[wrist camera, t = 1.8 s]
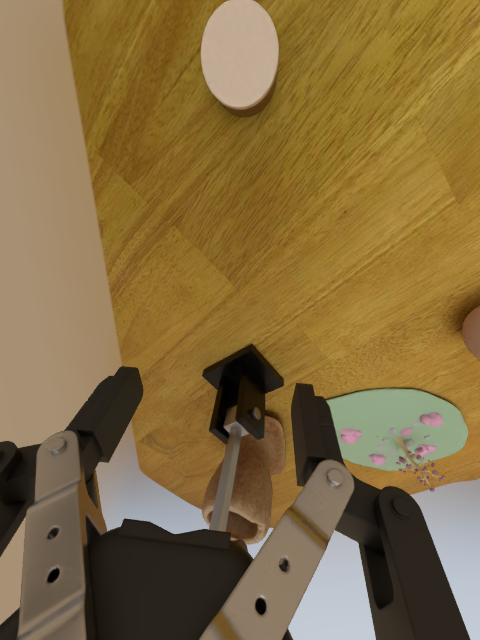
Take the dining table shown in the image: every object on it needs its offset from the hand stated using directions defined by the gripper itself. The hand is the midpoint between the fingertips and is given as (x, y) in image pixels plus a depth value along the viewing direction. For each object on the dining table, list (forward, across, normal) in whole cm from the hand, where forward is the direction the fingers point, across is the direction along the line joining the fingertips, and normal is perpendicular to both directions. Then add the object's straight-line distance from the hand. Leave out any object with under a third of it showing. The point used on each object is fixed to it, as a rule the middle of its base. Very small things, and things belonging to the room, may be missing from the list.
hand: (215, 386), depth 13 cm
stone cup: (+19, -3, +33) cm, 38 cm away
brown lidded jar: (+19, +1, -15) cm, 24 cm away
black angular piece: (+19, -1, +18) cm, 26 cm away
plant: (+19, -23, +28) cm, 41 cm away
